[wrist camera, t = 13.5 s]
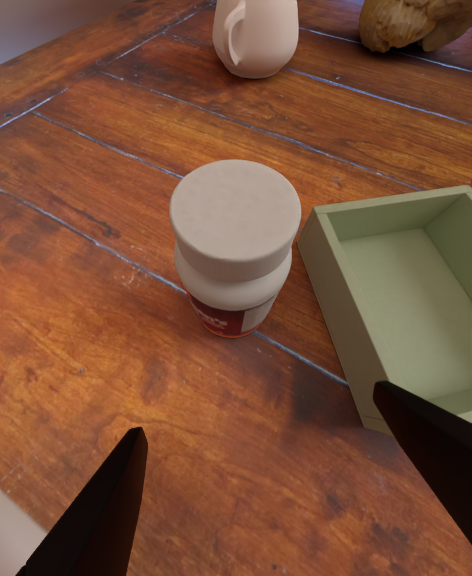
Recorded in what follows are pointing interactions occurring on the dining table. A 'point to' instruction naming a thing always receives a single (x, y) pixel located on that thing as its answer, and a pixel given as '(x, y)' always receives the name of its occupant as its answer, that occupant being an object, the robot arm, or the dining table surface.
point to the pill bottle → (233, 241)
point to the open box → (397, 294)
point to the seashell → (413, 23)
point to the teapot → (255, 35)
